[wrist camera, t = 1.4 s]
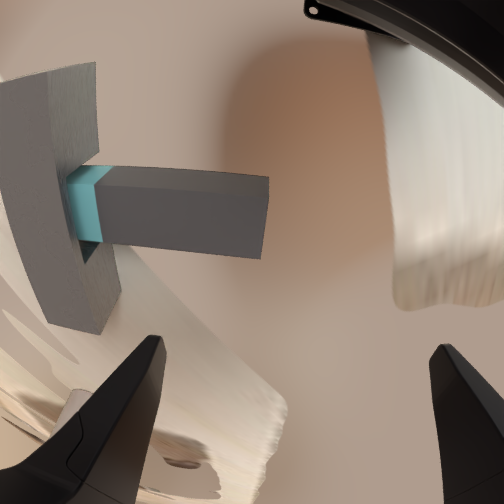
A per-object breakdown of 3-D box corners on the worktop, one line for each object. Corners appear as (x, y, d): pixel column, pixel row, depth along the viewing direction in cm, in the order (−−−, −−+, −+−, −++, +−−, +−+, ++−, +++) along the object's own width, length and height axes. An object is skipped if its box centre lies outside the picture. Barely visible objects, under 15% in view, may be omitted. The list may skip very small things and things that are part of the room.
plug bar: (269, 176, 19) (268, 198, 17) (261, 232, 21) (260, 259, 19) (77, 165, 19) (54, 183, 16) (85, 215, 21) (65, 237, 19)
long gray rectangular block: (95, 61, 15) (47, 71, 11) (121, 290, 25) (100, 335, 21) (35, 72, 15) (-16, 87, 11) (72, 282, 25) (48, 322, 21)
